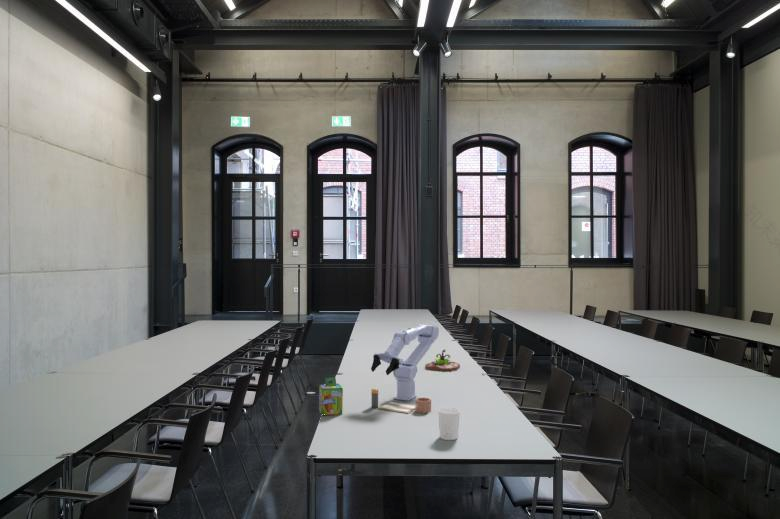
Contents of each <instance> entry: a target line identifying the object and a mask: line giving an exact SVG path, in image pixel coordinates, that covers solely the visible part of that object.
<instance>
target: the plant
mask: <svg viewBox="0 0 780 519" xmlns="http://www.w3.org/2000/svg"><path fill="white" fill-rule="evenodd" d="M445 353H446V349H442V352H441V353H438V354H436V356H435V358H434V361H431V362H428V363H425V366H424V367H425V370H429V371H435V372H436V371H437V372H445V373H447V372H453V371H458V370H460V368H461V365H460V363H457V362H455V361H451V359H450V358H451V355H450V354H445ZM444 354H445V355H444Z"/></svg>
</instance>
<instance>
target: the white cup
mask: <svg viewBox="0 0 780 519" xmlns="http://www.w3.org/2000/svg"><path fill="white" fill-rule="evenodd" d="M460 412H461V411H460V409H457V408H455V407H454V408H453V407H452V408H451V407H445V408H444V407H443V408H440V409H438V426H439V438H440V439H441V440H445V441H455V440H457V439H458V437H459V428H460Z"/></svg>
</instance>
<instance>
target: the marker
mask: <svg viewBox="0 0 780 519" xmlns="http://www.w3.org/2000/svg"><path fill="white" fill-rule="evenodd" d="M370 391H371V408H372V409H378V408H379V388H372V389H371V390H370Z"/></svg>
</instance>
